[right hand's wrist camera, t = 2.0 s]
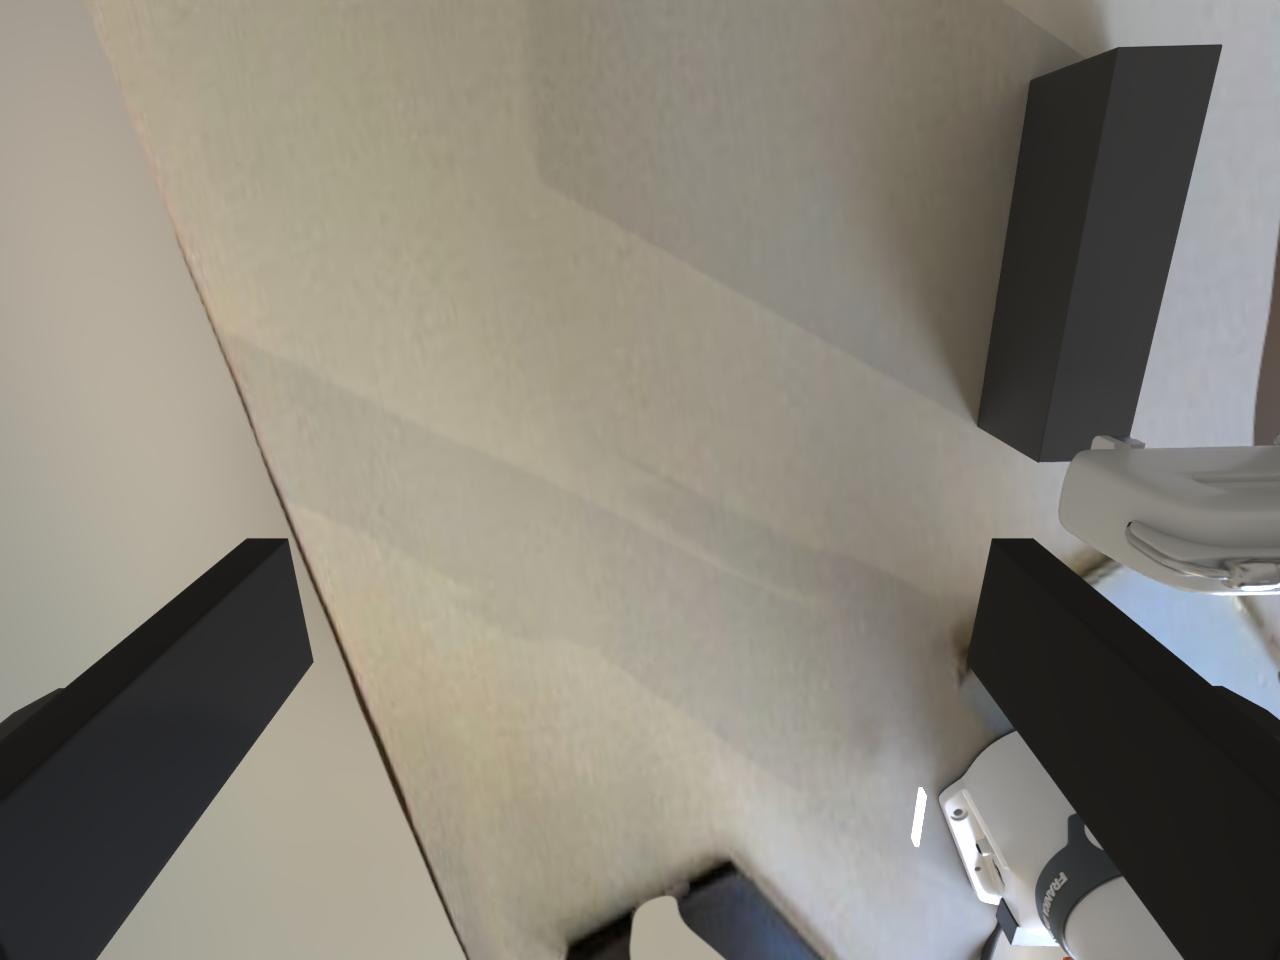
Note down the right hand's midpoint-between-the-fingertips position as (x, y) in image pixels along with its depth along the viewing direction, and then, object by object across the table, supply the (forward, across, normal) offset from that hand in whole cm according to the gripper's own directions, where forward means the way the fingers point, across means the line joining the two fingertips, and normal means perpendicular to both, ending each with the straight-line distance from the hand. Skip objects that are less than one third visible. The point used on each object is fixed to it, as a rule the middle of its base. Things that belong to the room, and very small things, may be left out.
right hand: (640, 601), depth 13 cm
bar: (+40, +29, +3) cm, 50 cm away
